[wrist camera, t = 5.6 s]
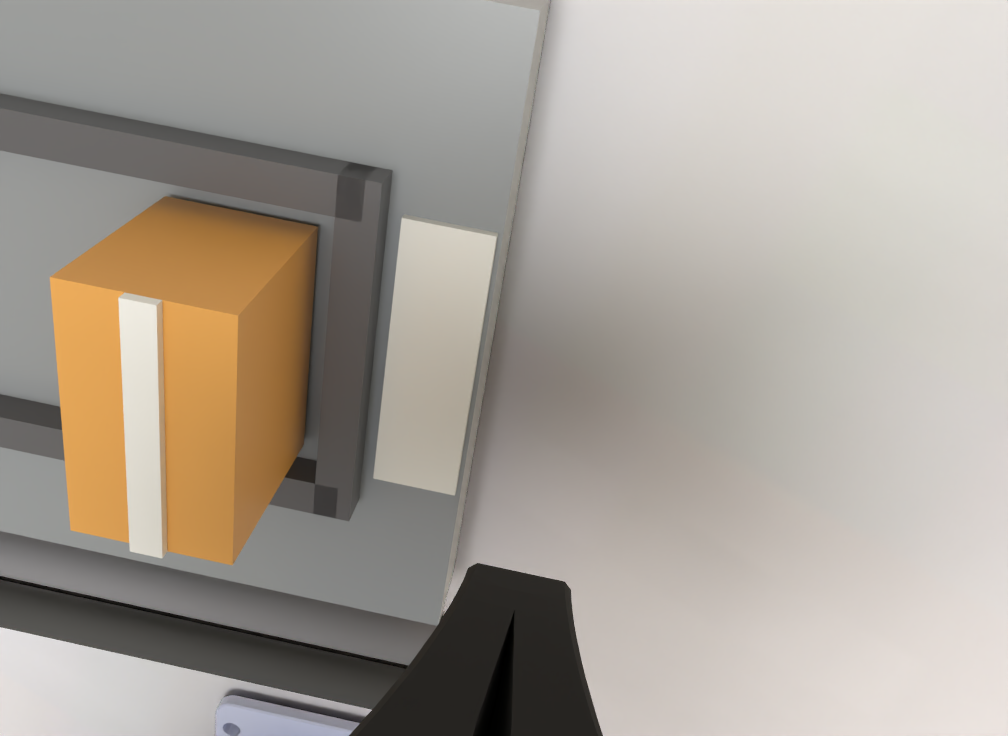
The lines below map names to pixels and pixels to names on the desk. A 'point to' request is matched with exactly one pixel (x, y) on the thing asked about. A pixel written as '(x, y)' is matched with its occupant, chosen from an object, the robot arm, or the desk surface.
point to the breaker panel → (293, 197)
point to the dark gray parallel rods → (208, 603)
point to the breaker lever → (183, 375)
